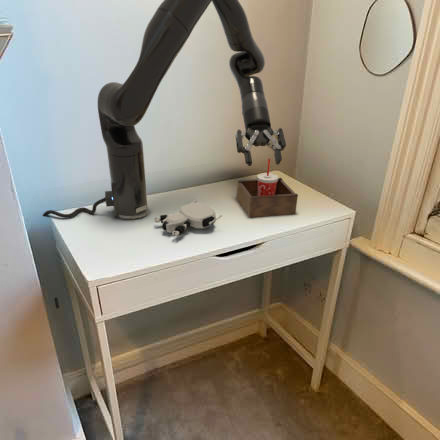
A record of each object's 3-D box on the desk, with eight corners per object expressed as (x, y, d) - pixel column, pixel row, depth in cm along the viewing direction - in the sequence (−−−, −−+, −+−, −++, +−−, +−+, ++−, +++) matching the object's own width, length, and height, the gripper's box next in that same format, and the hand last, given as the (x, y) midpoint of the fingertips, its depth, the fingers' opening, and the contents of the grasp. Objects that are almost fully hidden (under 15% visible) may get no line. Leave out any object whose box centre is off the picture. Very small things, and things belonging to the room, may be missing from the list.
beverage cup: (251, 203, 130) (255, 156, 122) (270, 201, 132) (274, 154, 124) (259, 211, 126) (263, 163, 118) (278, 209, 127) (283, 161, 119)
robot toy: (176, 246, 109) (224, 228, 115) (174, 230, 106) (223, 212, 113) (152, 228, 117) (198, 211, 124) (150, 213, 114) (197, 197, 121)
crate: (249, 217, 122) (250, 198, 119) (236, 198, 133) (237, 180, 130) (295, 214, 125) (298, 194, 121) (279, 195, 136) (281, 177, 132)
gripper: (234, 106, 123) (243, 159, 120) (282, 104, 126) (292, 156, 123) (229, 121, 130) (237, 171, 127) (274, 119, 133) (283, 168, 130)
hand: (264, 164), depth 125 cm, fingers open, 8 cm apart
